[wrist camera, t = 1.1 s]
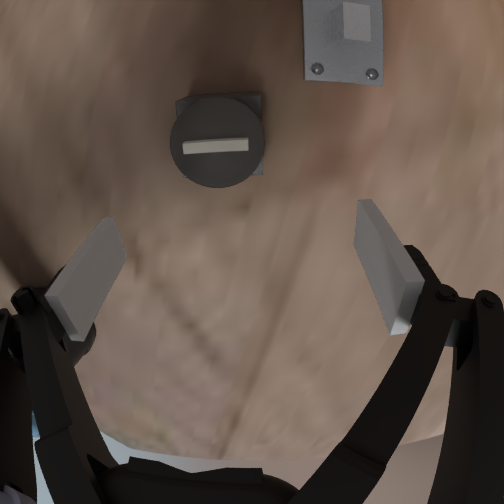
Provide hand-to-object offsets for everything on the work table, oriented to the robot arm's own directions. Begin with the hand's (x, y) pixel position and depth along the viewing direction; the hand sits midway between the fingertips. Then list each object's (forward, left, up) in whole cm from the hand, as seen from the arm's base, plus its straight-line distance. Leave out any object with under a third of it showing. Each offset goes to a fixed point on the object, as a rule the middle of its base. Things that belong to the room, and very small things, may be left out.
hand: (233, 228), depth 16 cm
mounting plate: (+10, +13, -18) cm, 24 cm away
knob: (-2, +2, -18) cm, 18 cm away
